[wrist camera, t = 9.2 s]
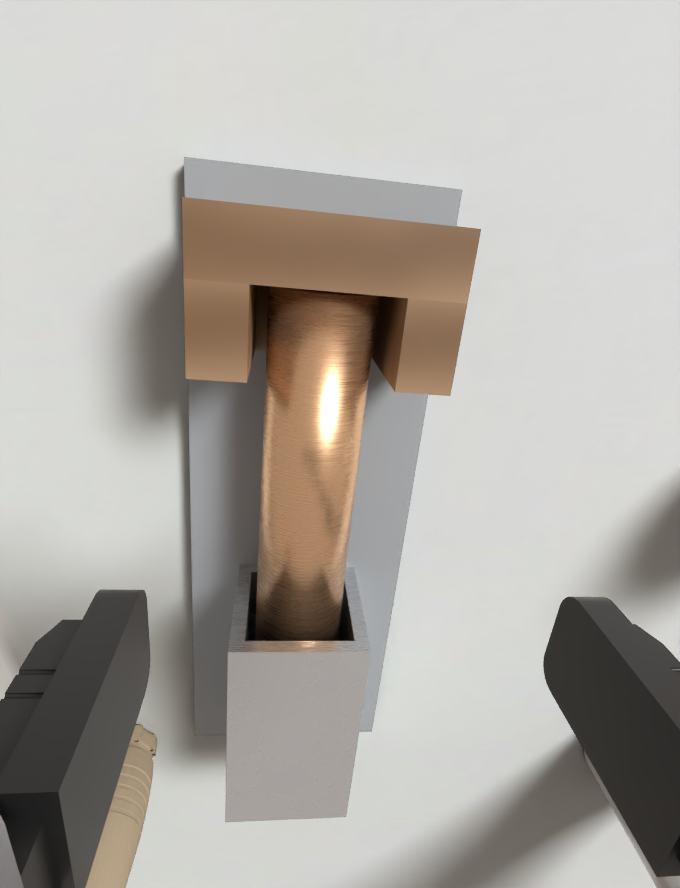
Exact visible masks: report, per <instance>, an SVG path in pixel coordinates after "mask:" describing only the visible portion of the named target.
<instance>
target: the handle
mask: <svg viewBox="0 0 680 888" xmlns="http://www.w3.org/2000/svg"><path fill="white" fill-rule="evenodd" d="M156 748H157V738H156V736H155V735H154V734H151V733H149V732H147V731H146V730H145V729H144V728H143V726H141V725H135V728H134V731H133V734H132V737H131V741H130V744H129V747H128V750H127V754H126V757H125V760H124V763H123V767H122V770H121V773H120V776H119V780H118V783H117V786H116V790H115V793H114V796H113V799H112V803H111V806H110V809H109V812H108V816H107V819H106V822H105V825H104V829H103V832H102V835H101V839H100V842H99V845H98V848H97V852H96V855H95V858H94V861H93V865H92V868H91V871H90V874H89V878H88V881H87V884H86V887H85V888H125V887H126V884H127V881H128V877H129V874H130V871H131V867H132V864H133V860H134V857H135V854H136V850H137V847H138V844H139V840H140V837H141V832H142V828H143V824H144V819H145V815H146V810H147V806H148V801H149V795H150V789H151V783H152V776H153V760H152V758H153V756H155V755H156Z"/></svg>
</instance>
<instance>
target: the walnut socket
mask: <svg viewBox="0 0 680 888" xmlns="http://www.w3.org/2000/svg"><path fill="white" fill-rule="evenodd" d="M182 232H183V280H184V329H185V377H186V379H195V380H211V381H226V382H242V383H247V380H248V376H249V372H250V368H251V364H252V360H253V356H254V352H255V350H265V351H267V327H268V302H269V286H274V287H285V288H297V289H308V290H319V291H331V292H342V293H353V294H365V295H376V296H379V297H378V305H377V314H376V322H375V330H374V339H373V347H372V355H371V358H372V359H373V360H374V362H375V363H376V365H377V366H378V368H379V369H380V371H381V372H382V374H383V375H384V377H385V378H386V380H387V381H388V383H389V384H390V386H391V387H392V389H393V390H394V392H398V393H414V394H429V395H445V396H450V394H451V389H452V384H453V378H454V373H455V367H456V362H457V356H458V351H459V346H460V340H461V335H462V329H463V324H464V319H465V313H466V308H467V302H468V297H469V291H470V286H471V281H472V275H473V270H474V264H475V259H476V254H477V248H478V243H479V237H480V232H481V229H475V228H466V227H457V226H447V225H438V224H429V223H420V222H410V221H401V220H392V219H383V218H373V217H364V216H355V215H346V214H336V213H327V212H318V211H308V210H299V209H290V208H281V207H271V206H262V205H253V204H244V203H234V202H225V201H216V200H207V199H197V198H188V197H182Z"/></svg>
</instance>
